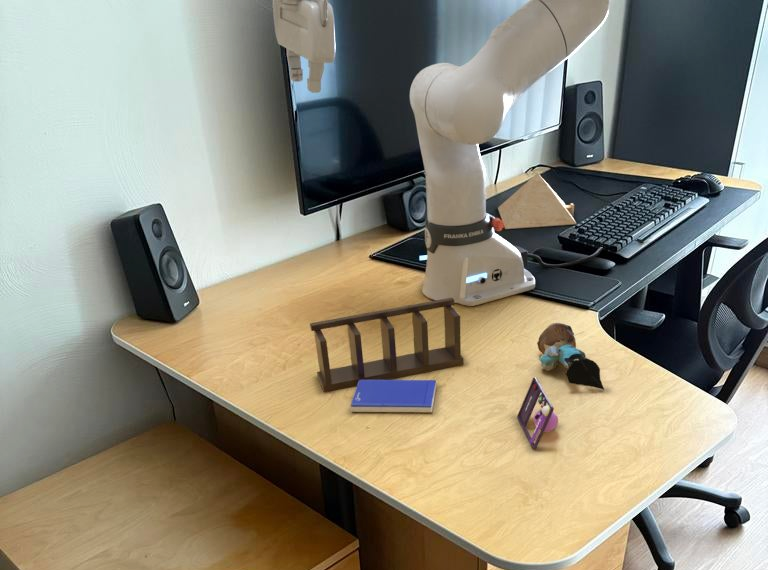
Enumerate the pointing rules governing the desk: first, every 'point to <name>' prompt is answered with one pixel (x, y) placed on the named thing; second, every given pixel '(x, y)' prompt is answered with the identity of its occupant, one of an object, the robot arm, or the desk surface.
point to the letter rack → (389, 347)
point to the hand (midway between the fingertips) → (305, 86)
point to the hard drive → (394, 396)
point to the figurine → (567, 356)
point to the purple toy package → (543, 418)
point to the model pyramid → (535, 207)
